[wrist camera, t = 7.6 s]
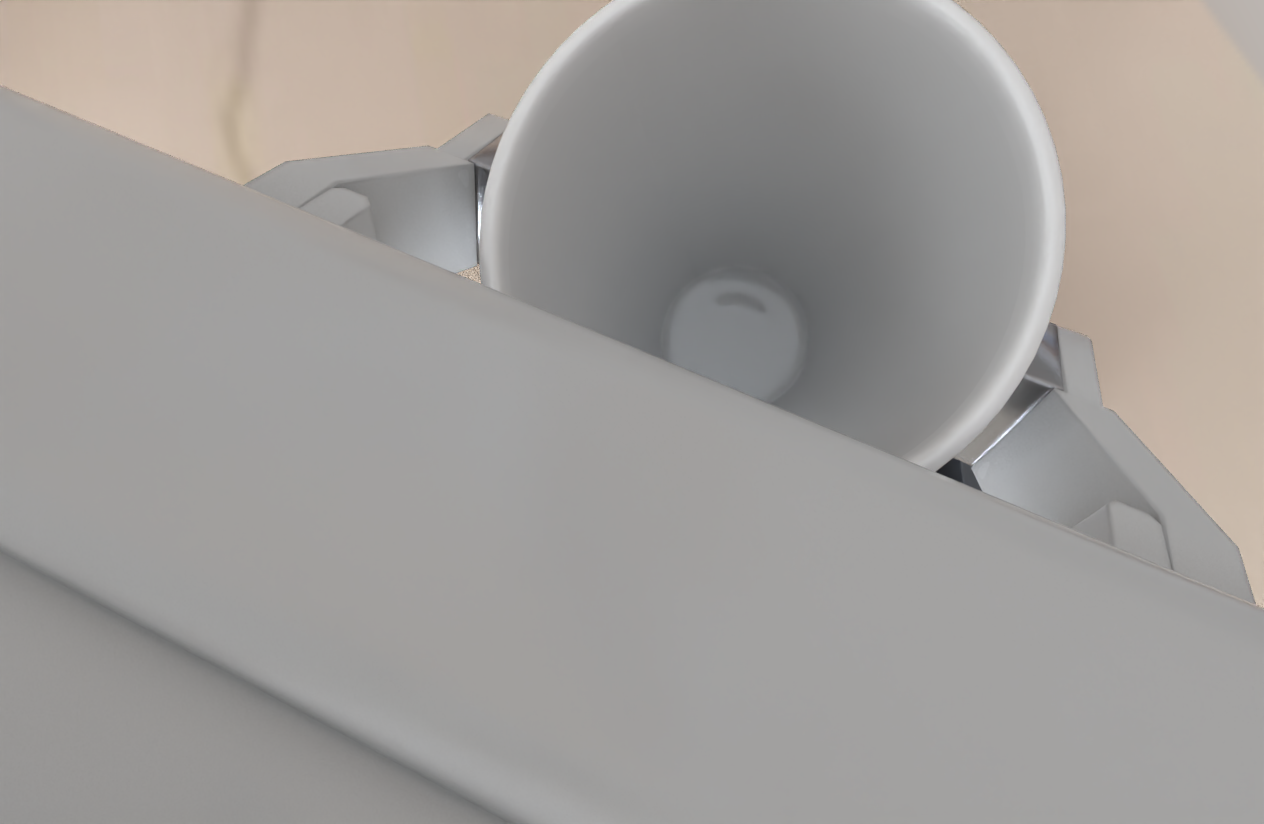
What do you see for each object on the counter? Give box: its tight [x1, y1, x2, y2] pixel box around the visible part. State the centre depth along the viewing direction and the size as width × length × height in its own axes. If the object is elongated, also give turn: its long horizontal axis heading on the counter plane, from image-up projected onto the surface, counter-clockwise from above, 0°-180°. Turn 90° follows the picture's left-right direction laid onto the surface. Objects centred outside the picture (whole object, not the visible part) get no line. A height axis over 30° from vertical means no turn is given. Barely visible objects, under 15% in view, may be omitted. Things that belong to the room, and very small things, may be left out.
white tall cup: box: [479, 0, 1066, 472], centre depth 14 cm, size 7×7×15 cm
